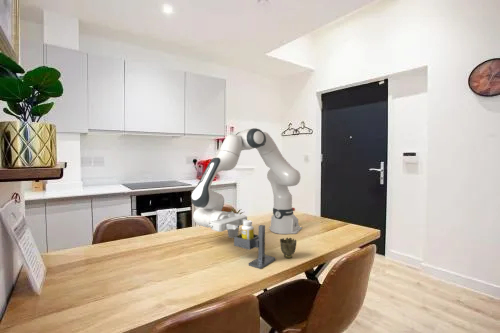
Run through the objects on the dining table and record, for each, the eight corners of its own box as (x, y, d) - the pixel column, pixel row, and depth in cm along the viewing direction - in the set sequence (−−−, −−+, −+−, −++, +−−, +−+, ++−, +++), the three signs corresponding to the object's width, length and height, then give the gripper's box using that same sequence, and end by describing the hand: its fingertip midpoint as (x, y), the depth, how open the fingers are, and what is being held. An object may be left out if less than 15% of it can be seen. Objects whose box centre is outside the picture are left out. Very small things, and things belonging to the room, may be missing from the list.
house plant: (249, 233, 159) (249, 205, 159) (246, 240, 146) (246, 210, 145) (225, 232, 161) (225, 205, 160) (220, 239, 147) (220, 210, 146)
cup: (283, 261, 118) (283, 243, 117) (277, 255, 125) (277, 238, 124) (299, 259, 120) (299, 241, 119) (292, 253, 127) (292, 236, 126)
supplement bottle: (253, 240, 123) (253, 219, 123) (253, 244, 118) (254, 222, 117) (241, 240, 123) (241, 219, 123) (241, 244, 118) (241, 222, 117)
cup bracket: (247, 252, 128) (248, 219, 127) (275, 259, 119) (275, 224, 118) (231, 260, 118) (231, 224, 118) (260, 269, 109) (260, 230, 109)
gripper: (204, 218, 121) (228, 222, 113) (233, 210, 138) (255, 214, 130) (204, 232, 121) (228, 237, 113) (233, 223, 138) (255, 227, 130)
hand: (243, 225), depth 122 cm, fingers open, 8 cm apart
